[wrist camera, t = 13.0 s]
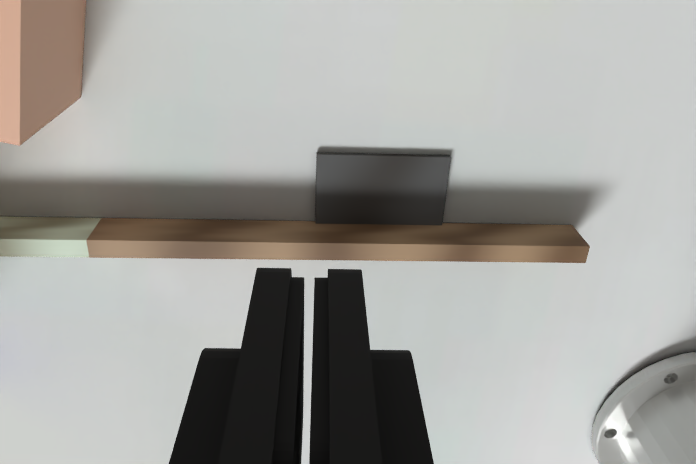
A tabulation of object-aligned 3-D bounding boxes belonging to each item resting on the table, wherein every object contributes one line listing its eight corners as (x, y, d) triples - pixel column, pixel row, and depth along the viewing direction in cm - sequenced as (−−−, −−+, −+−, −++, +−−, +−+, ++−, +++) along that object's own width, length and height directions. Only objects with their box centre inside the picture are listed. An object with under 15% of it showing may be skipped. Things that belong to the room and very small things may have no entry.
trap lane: (669, -179, 25) (703, -188, 23) (568, 240, 35) (585, 262, 32) (-186, -229, 23) (-239, -244, 21) (-48, 232, 32) (-75, 255, 30)
